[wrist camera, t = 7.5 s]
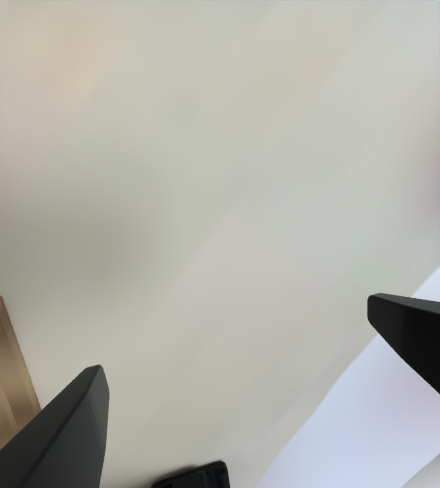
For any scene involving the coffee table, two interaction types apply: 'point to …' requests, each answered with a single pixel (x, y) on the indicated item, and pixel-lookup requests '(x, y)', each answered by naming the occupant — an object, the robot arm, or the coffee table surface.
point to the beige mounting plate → (13, 384)
